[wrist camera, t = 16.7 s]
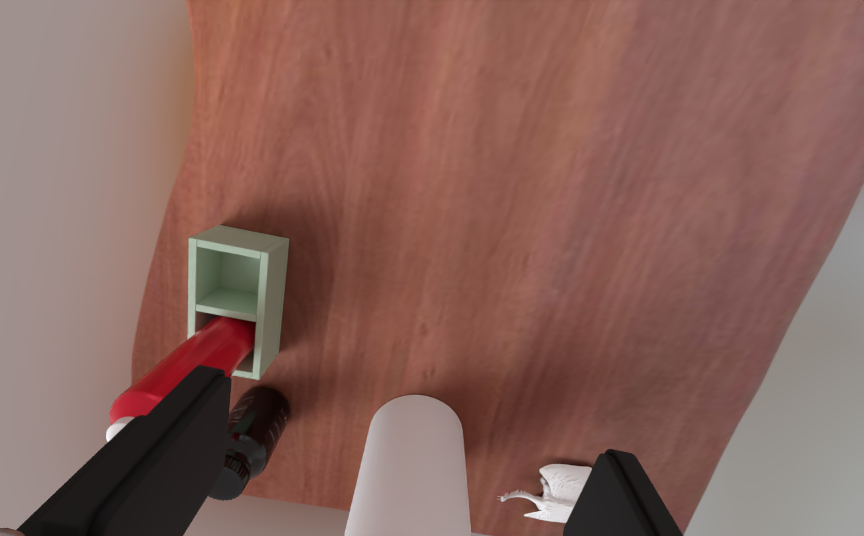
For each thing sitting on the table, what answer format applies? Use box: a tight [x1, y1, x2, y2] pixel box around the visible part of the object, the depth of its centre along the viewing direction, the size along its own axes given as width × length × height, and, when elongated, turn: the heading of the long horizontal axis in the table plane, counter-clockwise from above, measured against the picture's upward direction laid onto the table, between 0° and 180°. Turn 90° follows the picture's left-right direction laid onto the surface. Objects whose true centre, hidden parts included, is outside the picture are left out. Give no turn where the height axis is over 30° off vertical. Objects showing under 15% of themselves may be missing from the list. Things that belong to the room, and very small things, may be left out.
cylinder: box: [344, 395, 471, 536], centre depth 42 cm, size 12×12×25 cm
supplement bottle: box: [208, 388, 290, 500], centre depth 47 cm, size 7×7×12 cm
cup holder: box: [188, 225, 289, 380], centre depth 45 cm, size 8×15×6 cm, turn 168°
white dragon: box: [498, 464, 592, 523], centre depth 54 cm, size 18×10×4 cm, turn 79°
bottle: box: [106, 315, 256, 442], centre depth 38 cm, size 5×5×20 cm
